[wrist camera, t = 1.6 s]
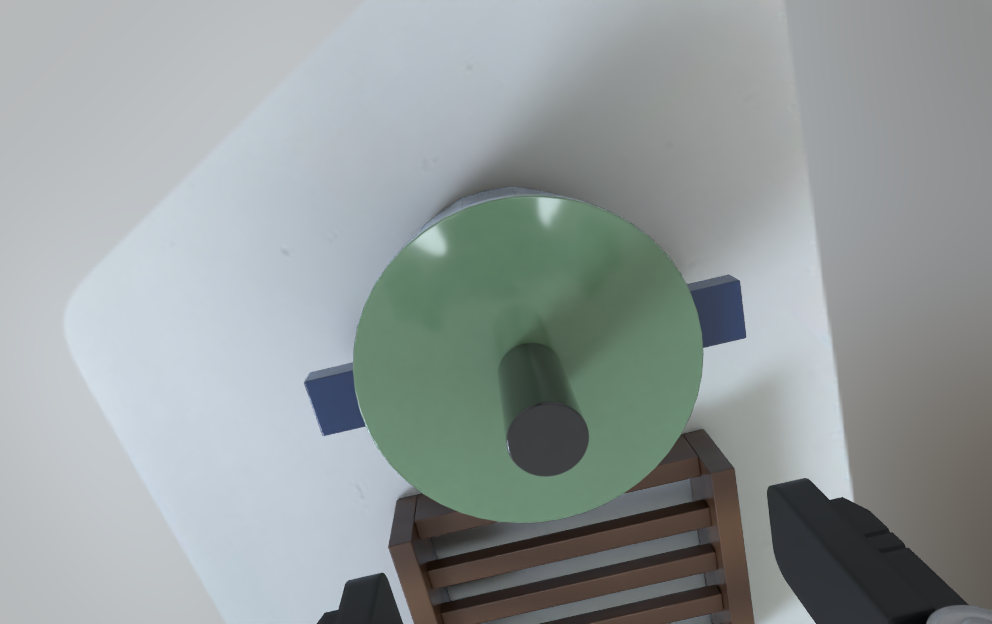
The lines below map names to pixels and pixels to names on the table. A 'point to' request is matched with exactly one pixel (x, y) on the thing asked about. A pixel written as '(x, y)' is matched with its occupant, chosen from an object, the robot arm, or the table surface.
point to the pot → (711, 296)
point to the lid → (527, 358)
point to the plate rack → (641, 620)
